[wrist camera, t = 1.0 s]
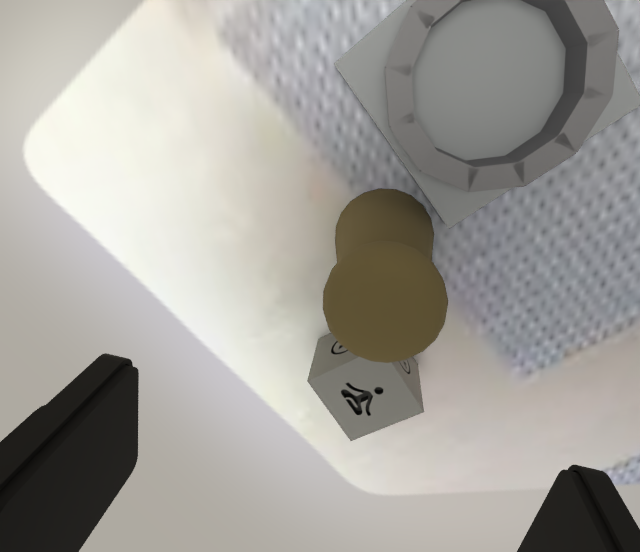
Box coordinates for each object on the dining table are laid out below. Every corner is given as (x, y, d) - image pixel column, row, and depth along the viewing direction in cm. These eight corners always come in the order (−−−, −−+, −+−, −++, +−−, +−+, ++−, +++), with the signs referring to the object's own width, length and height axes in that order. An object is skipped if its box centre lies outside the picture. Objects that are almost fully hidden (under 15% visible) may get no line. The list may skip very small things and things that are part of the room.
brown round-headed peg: (366, 169, 26) (356, 217, 16) (454, 220, 26) (498, 299, 16) (317, 252, 28) (281, 341, 18) (398, 298, 29) (407, 409, 18)
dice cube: (318, 338, 31) (307, 381, 26) (381, 307, 29) (381, 346, 24) (355, 391, 32) (350, 440, 27) (417, 364, 30) (423, 411, 26)
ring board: (633, 102, 23) (674, 104, 19) (446, 224, 26) (455, 242, 23) (525, -100, 20) (552, -138, 17) (335, 65, 24) (328, 60, 21)
